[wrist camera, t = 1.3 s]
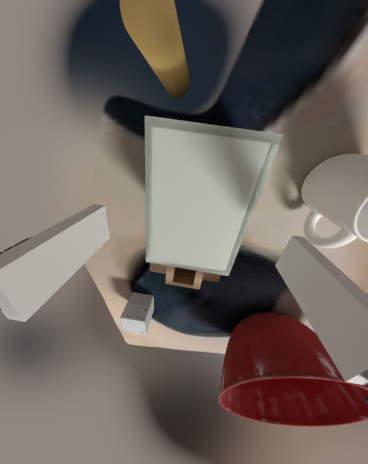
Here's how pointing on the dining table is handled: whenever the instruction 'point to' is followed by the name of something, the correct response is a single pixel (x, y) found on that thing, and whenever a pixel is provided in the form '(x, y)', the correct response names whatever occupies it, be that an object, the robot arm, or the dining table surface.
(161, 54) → the pin
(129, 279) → the dining table surface
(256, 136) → the tray
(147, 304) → the skincare box
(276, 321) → the mixing bowl
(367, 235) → the mug
